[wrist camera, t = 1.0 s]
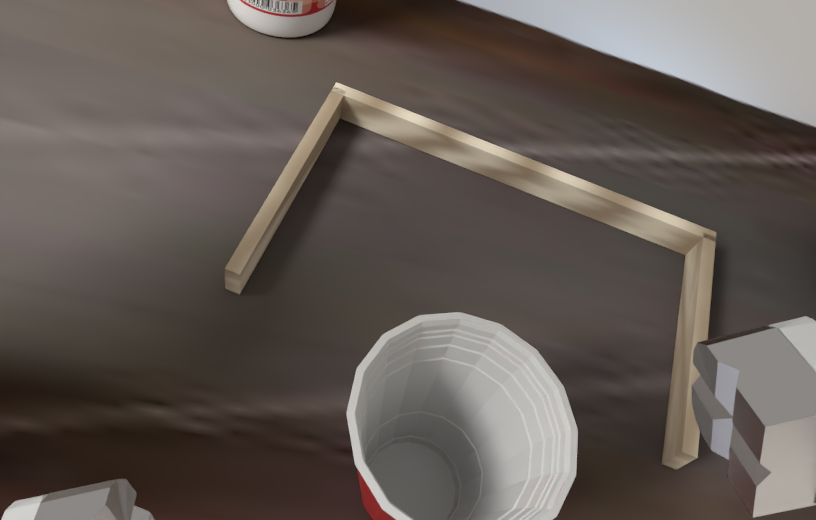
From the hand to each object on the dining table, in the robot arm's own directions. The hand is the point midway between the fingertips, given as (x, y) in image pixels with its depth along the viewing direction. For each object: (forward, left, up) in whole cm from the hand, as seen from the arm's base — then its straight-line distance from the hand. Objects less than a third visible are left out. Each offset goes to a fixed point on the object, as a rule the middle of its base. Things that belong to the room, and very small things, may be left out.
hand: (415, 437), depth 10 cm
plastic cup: (+4, +9, -31) cm, 32 cm away
